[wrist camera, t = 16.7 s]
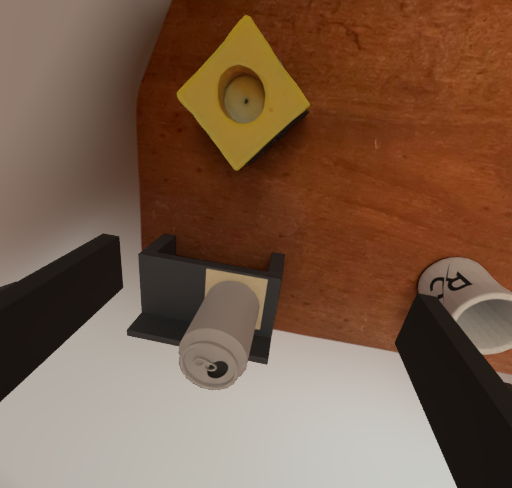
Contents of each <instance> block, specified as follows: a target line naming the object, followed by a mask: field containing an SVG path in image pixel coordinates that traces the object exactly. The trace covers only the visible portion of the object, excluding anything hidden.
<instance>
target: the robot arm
mask: <svg viewBox="0 0 512 488" xmlns="http://www.w3.org/2000/svg"><path fill="white" fill-rule="evenodd" d="M122 288H123V281H122V267H121V255H120V241H119V236H114V235H108V234H102V235H100V236H98V237H97V238H94V239H93V240H91V241H89V242H87V243H85V244H84V245H82V246H80V247H78V248H77V249H75V250H73V251H71V252H70V253H68V254H66V255H64V256H62V257H61V258H59V259H57V260H55V261H53V262H52V263H50V264H48V265H47V266H45V267H43V268H41V269H39V270H37V271H36V272H34V273H32V274H30V275H28V276H27V277H25V278H23V279H21V280H20V281H18V282H14V283H11V284H8V285H5V286H2V287H0V402H1V401H2V400H3V399H4V398H5V397H6V396H7V395H8V394H9V393H10V392H11V391H13V390H14V389H15V388H16V387H17V386H18V385H19V384H20V383H21V382H22V381H23V380H24V379H25V378H26V377H28V376H29V375H30V374H31V373H32V372H33V371H34V370H35V369H36V368H37V367H38V366H39V365H40V364H42V363H43V362H44V361H45V360H46V359H47V358H48V357H49V356H50V355H51V354H52V353H53V352H54V351H56V350H57V349H58V348H59V347H60V346H61V345H62V344H63V343H64V342H65V341H66V340H67V339H68V338H69V337H70V336H72V335H73V334H74V333H75V332H76V331H77V330H78V329H79V328H80V327H81V326H82V325H83V324H84V323H86V322H87V321H88V320H89V319H90V318H91V317H92V316H93V315H94V314H95V313H96V312H97V311H98V310H100V309H101V308H102V307H103V306H104V305H105V304H106V303H107V302H108V301H109V300H110V299H111V298H112V297H114V296H115V295H116V293H118V292H119V291H120V290H121V289H122ZM395 345H396V347H397V350H398V352H399V354H400V356H401V359H402V361H403V363H404V365H405V368H406V370H407V372H408V375H409V377H410V380H411V382H412V384H413V387H414V389H415V391H416V393H417V396H418V398H419V400H420V403H421V405H422V407H423V410H424V412H425V414H426V416H427V419H428V421H429V424H430V426H431V428H432V430H433V433H434V435H435V437H436V439H437V442H438V444H439V446H440V449H441V451H442V454H443V456H444V458H445V460H446V463H447V465H448V467H449V470H450V472H451V474H452V476H453V479H454V481H455V483H456V486H457V488H512V385H511V384H509V383H505V382H503V380H502V379H501V378H500V377H499V375H498V374H497V373H496V372H495V370H494V369H493V368H492V367H491V365H490V364H489V363H488V361H487V360H486V359H485V358H484V356H483V355H482V354H481V353H480V351H479V350H478V349H477V348H476V346H475V345H474V344H473V342H472V341H471V340H470V339H469V337H468V336H467V335H466V334H465V332H464V331H463V330H462V328H461V327H460V326H459V325H458V323H457V322H456V321H455V320H454V318H453V317H452V316H451V315H450V313H449V312H448V311H447V309H446V308H445V307H444V306H443V304H442V303H441V302H440V301H439V299H438V298H437V297H436V296H431V295H425V294H420V293H417V295H416V297H415V299H414V301H413V304H412V306H411V308H410V310H409V312H408V315H407V317H406V319H405V321H404V323H403V326H402V328H401V330H400V332H399V334H398V337H397V339H396V341H395Z"/></svg>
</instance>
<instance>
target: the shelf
mask: <svg viewBox="0 0 512 488" xmlns="http://www.w3.org/2000/svg"><path fill="white" fill-rule="evenodd" d="M138 255H139V270H140V271H139V272H140V289H141V306H142V313H141V314H140V315H139V316H138V317H137V319H136V320H135V321H134V322H133V323H132V325H131V326H130V327H129V328H128V329H127V335H128V336H132V337H137V338H142V339H147V340H152V341H157V342H161V343H166V344H171V345H176V346H179V344H180V342H181V340H182V338H183V337H184V335H185V333H186V331H187V329H188V328H189V326H190V324H191V322H192V320H193V319H194V317H195V315H196V313H197V312H198V310H199V308H200V306H201V304H202V303H203V301H204V299H205V297H206V295H207V294H208V292H209V290H210V288H212V287H213V286H214V285H215V284H217V283H220V282H222V281H235V282H240V283H242V284H244V285H246V286H248V287H249V288H250V289H251V290H252V291H253V292H254V293H255V294H256V296H257V298H258V300H259V306H260V308H259V313H258V317H257V322H256V326H255V331H254V335H253V340H252V344H251V348H250V353H249V357H248V361H252V362H257V363H262V364H267V363H268V356H269V349H270V342H271V336H272V330H273V325H274V319H275V314H276V308H277V303H278V298H279V292H280V287H281V281H282V274H283V265H284V257H285V254H279V253H274V252H272V256H271V261H270V265H269V270H268V272H265V271H260V270H254V269H249V268H243V267H237V266H232V265H226V264H221V263H215V262H209V261H204V260H198V259H193V258H187V257H181V256H176V236H175V235H169V234H163V235H162V236H161V237H159V238H158V239H157V240H156V241H154V242H153V243H152V244H150V245H149V246H148V247H147V248H145V249H144V250H143V251H142V252H140V253H139V254H138Z"/></svg>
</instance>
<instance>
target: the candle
mask: <svg viewBox="0 0 512 488" xmlns="http://www.w3.org/2000/svg"><path fill="white" fill-rule="evenodd" d="M176 95H177V97H178V100H179V101H180V102H181V103H182V104H183V105H184V106H185V107H186V108H187V109H188V110H189V111H190V112H191V113H192V114H193V115H194V117H195V118H196V120H197V121H198V122H199V124H200V125H201V126H202V127H203V129H204V130H205V131H206V132H207V135H208V137H210V138H211V139H212V140H213V141H214V143H215V144H216V146H217V147H218V148H219V150H220V151H221V153H222V154H223V156H224V157H225V158H226V160H227V161H228V162H229V164H230V165H231V166H232V168H233V169H234V170H235V171H238V170H240V169H241V168H242V167H243V166H245V165H246V166H248V165H250V164H251V163H253V162H254V161H255V160H256V159H257V158H258V157H260V156H261V155H262V154H263V153H264V152H266V151H267V150H268V149H269V148H270V147H271V146H272V145H273V144H275V143H276V142H277V141H278V140H279V139H280V138H281V137H283V136H284V134H285V133H287V132H288V130H289V129H290V128H291V127H292V126H293V125H294V124H295V123H296V122H297V121H298V120H300V119H302V118H304V116H305V115H307V113H309V107H310V103H309V102H308V100H307V99H306V97H305V96H304V94H303V93H302V91H301V90H300V88H299V87H298V85H297V84H296V83H295V81H294V80H293V79H292V78H291V77H290V75H289V74H288V73H287V71H286V70H285V68H284V66H283V65H282V63H281V61H280V60H279V59H278V58H277V57H276V55H275V54H274V52H273V50H272V49H271V47H270V46H269V44H268V42H267V41H266V40H265V38H264V37H263V35H262V34H261V32H260V31H259V29H258V28H257V26H256V25H255V23H254V22H253V20H252V19H251V18H250V16H247V15H245V16H244V17H243V18H242V19H241V20H240V21H239V22H238V23H237V24H236V26H235V27H234V28H233V29H232V31H231V32H230V33H229V35H228V36H227V38H226V39H225V40H224V42H223V43H222V44H221V45H220V46H219V48H218V49H217V50H216V51H215V52H214V53H213V55H212V56H211V57H210V58H209V59H208V60H207V61H206V62H205V63H204V64H203V65H202V67H201V68H200V69H199V70H198V71H197V72H196V73H195V74H194V75H193V76H192V77H191V78H190V79H189V80H188V81H187V82H186V83H185V84H184V85H183V86H182V87H181V88H180V90H179V91H178V92H177V94H176Z"/></svg>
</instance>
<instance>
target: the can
mask: <svg viewBox="0 0 512 488" xmlns="http://www.w3.org/2000/svg"><path fill="white" fill-rule="evenodd" d="M259 308H260V306H259V300H258V298H257V296H256V294H255V293H254V292H253V291H252V290H251V289H250V288H249V287H248V286H246V285H244V284H242V283H240V282H235V281H222V282H220V283H217V284H215V285H214V286H213V287H212V288H210V290H209V292H208V294H207V295H206V297H205V299H204V301H203V303H202V304H201V306H200V308H199V310H198V312H197V313H196V315H195V317H194V319H193V320H192V322H191V324H190V326H189V328H188V329H187V331H186V333H185V335H184V337H183V338H182V340H181V342H180V344H179V355H180V357H179V365H180V368H181V371H182V373H183V374H184V375H185V377H186V378H187V379H188V380H190V381H191V382H192V383H193V384H195V385H197V386H199V387H201V388H205V389H209V390H220V389H225V388H228V387H229V386H231V385H233V384H234V382H235V381H236V380H237V378H238V377H240V376H241V375H242V374H243V372H244V371H245V370H246V366H247V362H248V357H249V353H250V348H251V344H252V340H253V335H254V331H255V326H256V322H257V317H258V313H259Z"/></svg>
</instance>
